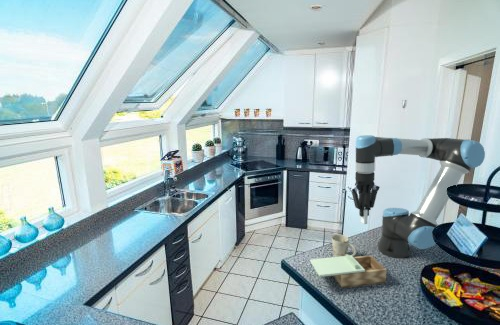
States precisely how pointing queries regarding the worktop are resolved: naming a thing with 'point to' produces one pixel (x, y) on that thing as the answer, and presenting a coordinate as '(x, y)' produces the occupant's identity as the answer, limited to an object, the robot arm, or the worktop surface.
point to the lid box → (363, 274)
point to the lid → (336, 265)
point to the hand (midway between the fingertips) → (364, 222)
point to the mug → (341, 245)
